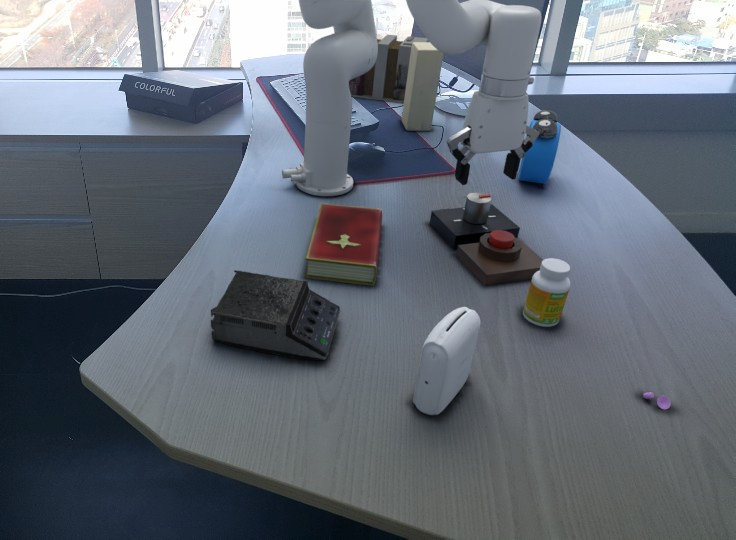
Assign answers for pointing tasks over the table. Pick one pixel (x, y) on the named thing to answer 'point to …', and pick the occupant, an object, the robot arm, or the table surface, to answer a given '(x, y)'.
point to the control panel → (468, 226)
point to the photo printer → (446, 360)
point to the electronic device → (275, 317)
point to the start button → (501, 239)
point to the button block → (499, 261)
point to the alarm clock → (541, 149)
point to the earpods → (659, 400)
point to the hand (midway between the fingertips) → (485, 179)
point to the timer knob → (477, 208)
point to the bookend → (386, 71)
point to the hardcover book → (345, 244)
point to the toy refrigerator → (421, 86)
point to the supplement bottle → (547, 293)
